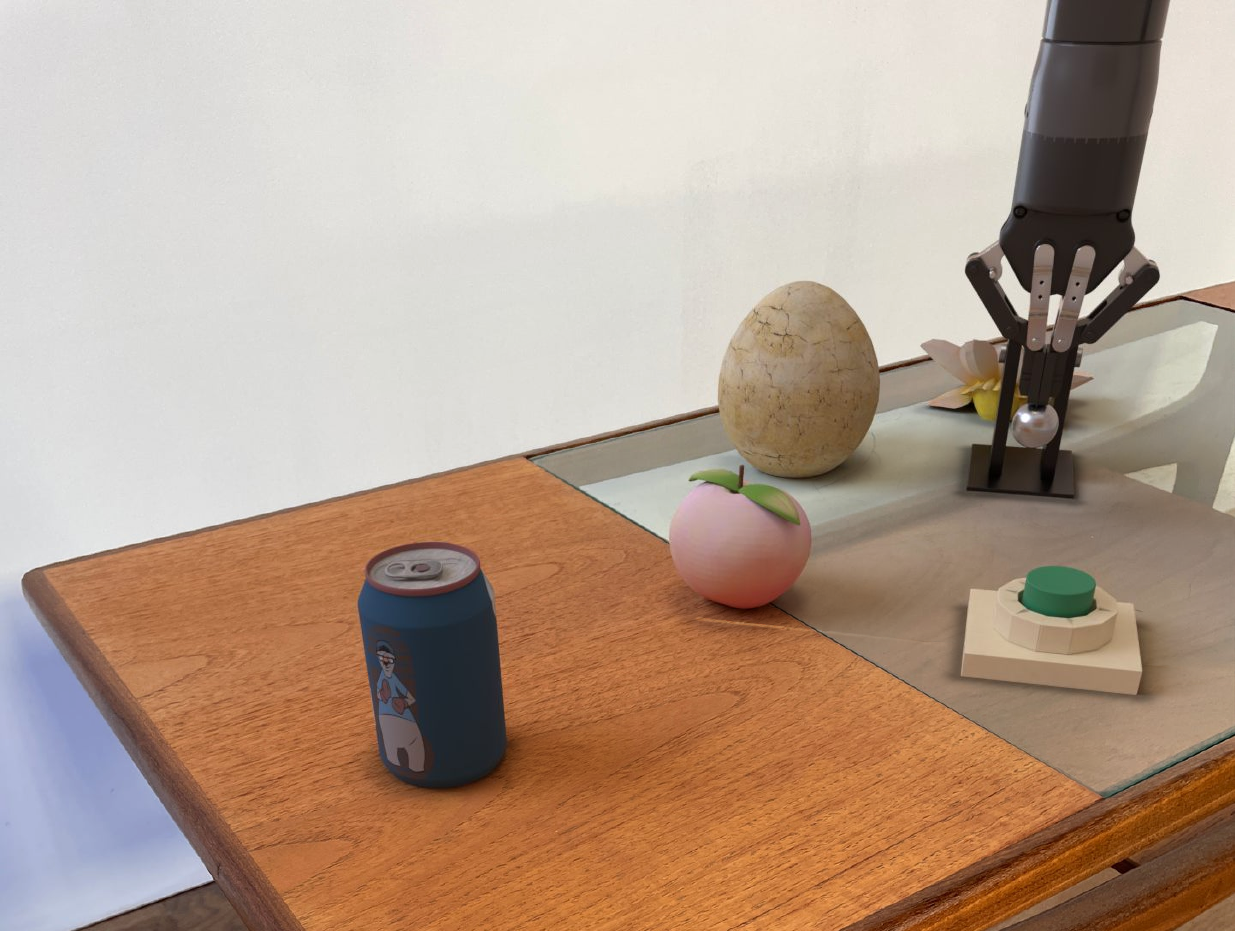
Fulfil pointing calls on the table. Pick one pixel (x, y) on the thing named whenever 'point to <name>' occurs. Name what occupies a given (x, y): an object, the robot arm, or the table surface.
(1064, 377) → the black metal frame
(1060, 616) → the green push button
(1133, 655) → the button block
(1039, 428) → the tap lever
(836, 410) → the fossilized egg
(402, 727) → the soda can
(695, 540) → the decorative fruit
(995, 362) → the decorative flower
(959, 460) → the table surface
